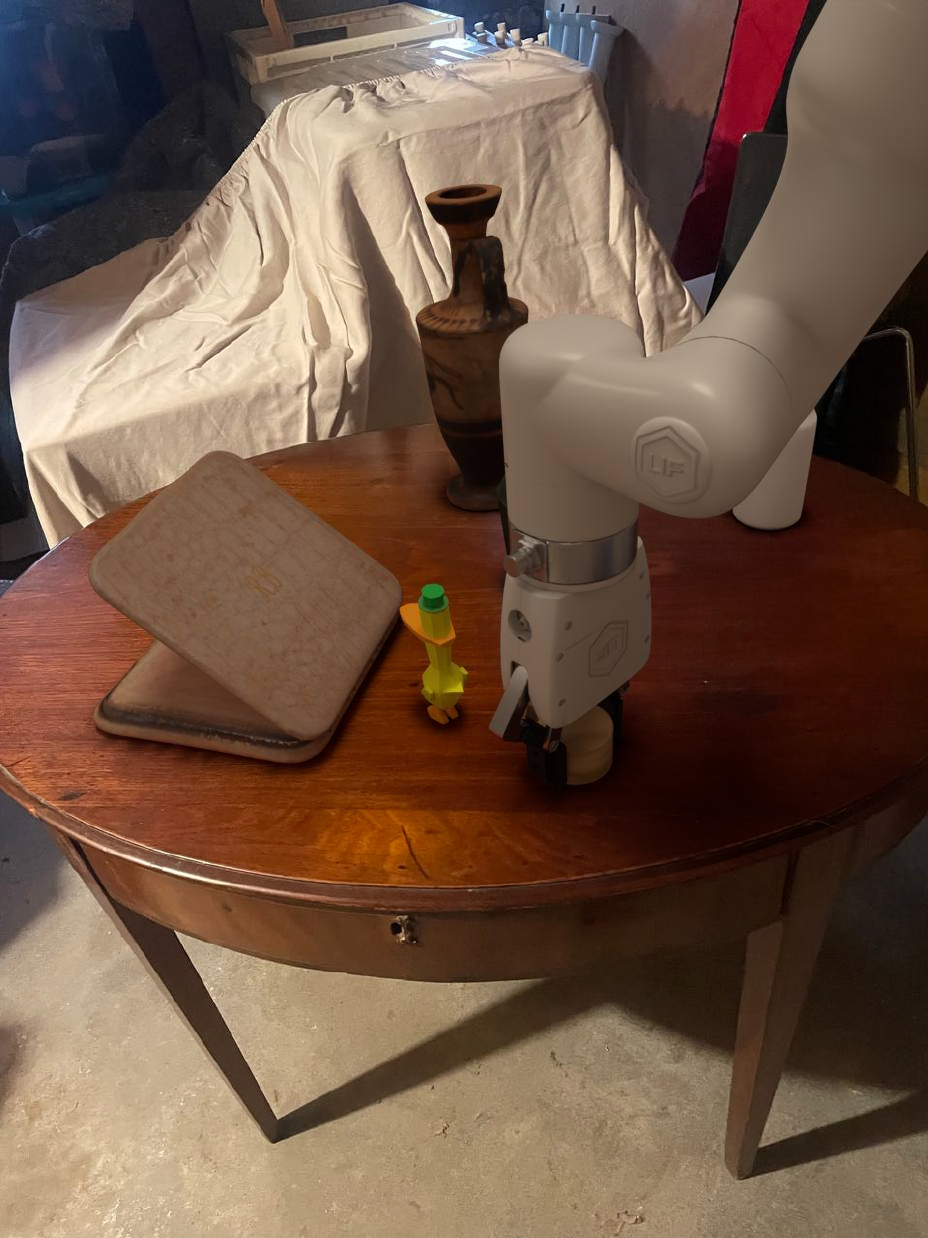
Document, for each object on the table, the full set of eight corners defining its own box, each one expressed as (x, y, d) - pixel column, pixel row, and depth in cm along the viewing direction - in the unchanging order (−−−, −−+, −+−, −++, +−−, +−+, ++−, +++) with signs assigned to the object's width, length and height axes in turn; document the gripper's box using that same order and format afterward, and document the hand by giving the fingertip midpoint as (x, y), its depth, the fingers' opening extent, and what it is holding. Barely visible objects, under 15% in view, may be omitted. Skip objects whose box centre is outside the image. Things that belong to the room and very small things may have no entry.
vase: (420, 486, 98) (383, 193, 80) (507, 460, 101) (490, 173, 83) (461, 528, 90) (430, 212, 72) (554, 499, 93) (546, 190, 75)
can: (720, 506, 89) (732, 393, 82) (778, 494, 90) (795, 381, 82) (752, 537, 84) (767, 420, 76) (814, 524, 84) (834, 407, 77)
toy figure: (399, 701, 69) (377, 574, 62) (435, 681, 71) (418, 555, 63) (449, 746, 64) (433, 615, 57) (487, 724, 66) (475, 593, 59)
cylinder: (619, 739, 64) (620, 707, 62) (603, 791, 60) (603, 758, 58) (549, 726, 65) (548, 694, 63) (530, 776, 61) (528, 744, 60)
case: (321, 777, 63) (274, 595, 53) (79, 734, 69) (-2, 563, 59) (416, 612, 78) (393, 448, 69) (212, 588, 84) (164, 434, 75)
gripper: (517, 629, 45) (531, 856, 56) (712, 500, 54) (691, 717, 64) (422, 576, 50) (451, 795, 60) (615, 465, 58) (611, 674, 69)
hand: (575, 753), depth 62 cm, fingers closed on cylinder, 5 cm apart
